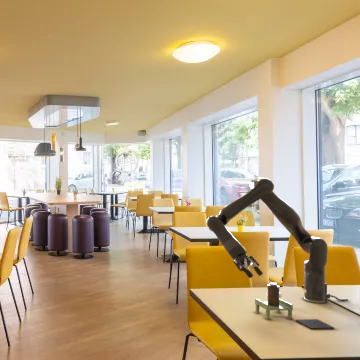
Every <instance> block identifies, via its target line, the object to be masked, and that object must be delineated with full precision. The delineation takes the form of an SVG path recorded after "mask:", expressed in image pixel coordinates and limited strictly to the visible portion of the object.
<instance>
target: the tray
mask: <svg viewBox="0 0 360 360" xmlns="http://www.w3.org/2000/svg"><path fill="white" fill-rule="evenodd" d="M254 305H255V313H256V314H260V308H262V309H264V310H265V319H266V320H271V311H276V313H278V314H281V312H282V311H287V319H288V320H293V310H294V304H292V303H290V302H288V301H286V300H284V299H283V298H281V299H280V298H279V306H277V307H275V306H270V305H268V302H267V301H262V300H260V299H258V298H254Z"/></svg>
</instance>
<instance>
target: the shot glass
mask: <svg viewBox="0 0 360 360" xmlns="http://www.w3.org/2000/svg"><path fill="white" fill-rule="evenodd" d="M265 291H266V293H265V294H266V302H268V290H265ZM282 294H283V292H281V291H279V298H280V299H282V296H283V295H282Z"/></svg>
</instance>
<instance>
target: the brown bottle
mask: <svg viewBox="0 0 360 360" xmlns="http://www.w3.org/2000/svg"><path fill="white" fill-rule="evenodd" d="M267 291H268V305H270V306H275V307H277V306H279V292H280V285H278V283H277V282H269V283H268V284H267Z"/></svg>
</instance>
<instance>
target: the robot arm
mask: <svg viewBox="0 0 360 360" xmlns="http://www.w3.org/2000/svg"><path fill="white" fill-rule="evenodd" d="M249 188H250V190H249V191H248V192H246V193H245V194H243V195H242V196H240V197H238V198H236V199H234V200H232V201H231V202H229V203H228V204H227V205H225V206H223V208H222V209H220V211H219V214H218V215H210V216H208V217H207V219H206V226H207V228H208V230H209V231H210V232H213V233H214V235H215V237H216V238H217V240H218V241H219V242H220V244H221V245H222V246H223V248H224V250H225V251H226V253H228V255H229V256H230V257H231V259H232V260H233V261H232V262H233V264H234V265H235V266H236V268H237V269H238V270H239V271H240V272H243V273H244V274H245V275H246V276H247V278H248V279H252V278H253V277H254V274H253V273H252V272H251V271H250V269H253V270H254V272H255V273H256V274H257V275H258V277H261V276H262V275H264V273H263V271H262V270H261V269H260V268H259V266H260V263H259V262H258V261H257V260H256V259H255V257H253V256H252V255H250V256H248V255H247V253H248V252H247V250H246V249H245V248H244V246H243V245H242V244H241V242H239V240H237V238H235V236H234V235H233V234H232V233H231V231H229V230H228V228H227V227H226V225H228V223H229V222H230V221H231V220H233V219H234V218H236V216H238V215H239V214H241V213H242V212H243V211H244V210H245V209H247V208H249V207H250V206H251V205H253V204H254V203H256V202H258V201H259V200H260V201H262V202H263V203H264V204H265V206H266V207H267V208H268V210H269V211H270V212H271V213H272V215H274V217H275V218H276V219H277V221H278V222H279V223H280V224H281V225H282V226H283V227H284V228H285V229H286V230H287V232H288V233H289V234H290V235H291V236H292V237H293V238H294V240H295V241H296V242H297V244H298V246H299V247H300V249H302V251H303V252H305V253H306V254H309V257H308V260H305V261H304V262H303V267H304V268H303V300H305V301H307V302H310V303H314V304H315V303H316V304H323V303H327V302H328V299H331V298H334V299H336V300H337V301H339V302H347V301H349V299H348V298H345V299H343V298H341V299H340V298H338V297H337V296H335V295H332V294H330V293H328V284H327V282H326V266H327V263H328V254H329V253H328V252H329V251H328V249H329V248H328V243H327V242H326V241H325V239H323V238H321V237H315V236H312V234H310V233H309V232H308V231H307V229H306V228H305V227H304V225H303V222H302V219H301V217H300V215H299V214H298V213H297V212H296V210H295V209H294V208H293V207H292V206H291V205H290V204H288V203H287V202H286V201H285V200H283V199H282V198H281V197H279V196H278V195H277V194H276V193H275V191H274V190H275V184H274V182H273V181H272V180H271V179H270V178H266V177H254V178H252V179H251V181H250V182H249ZM248 268H250V269H248Z"/></svg>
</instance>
